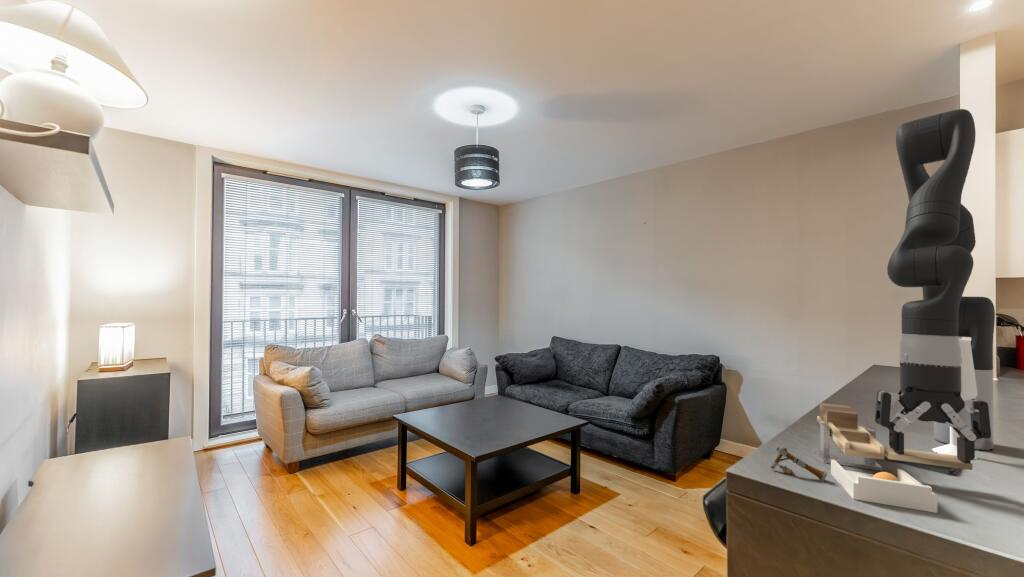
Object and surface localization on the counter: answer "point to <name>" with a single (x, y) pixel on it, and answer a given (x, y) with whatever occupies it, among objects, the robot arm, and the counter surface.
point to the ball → (885, 476)
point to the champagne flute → (962, 392)
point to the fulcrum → (841, 457)
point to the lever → (874, 440)
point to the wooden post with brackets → (784, 452)
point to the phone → (927, 466)
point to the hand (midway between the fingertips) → (930, 457)
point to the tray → (886, 489)
